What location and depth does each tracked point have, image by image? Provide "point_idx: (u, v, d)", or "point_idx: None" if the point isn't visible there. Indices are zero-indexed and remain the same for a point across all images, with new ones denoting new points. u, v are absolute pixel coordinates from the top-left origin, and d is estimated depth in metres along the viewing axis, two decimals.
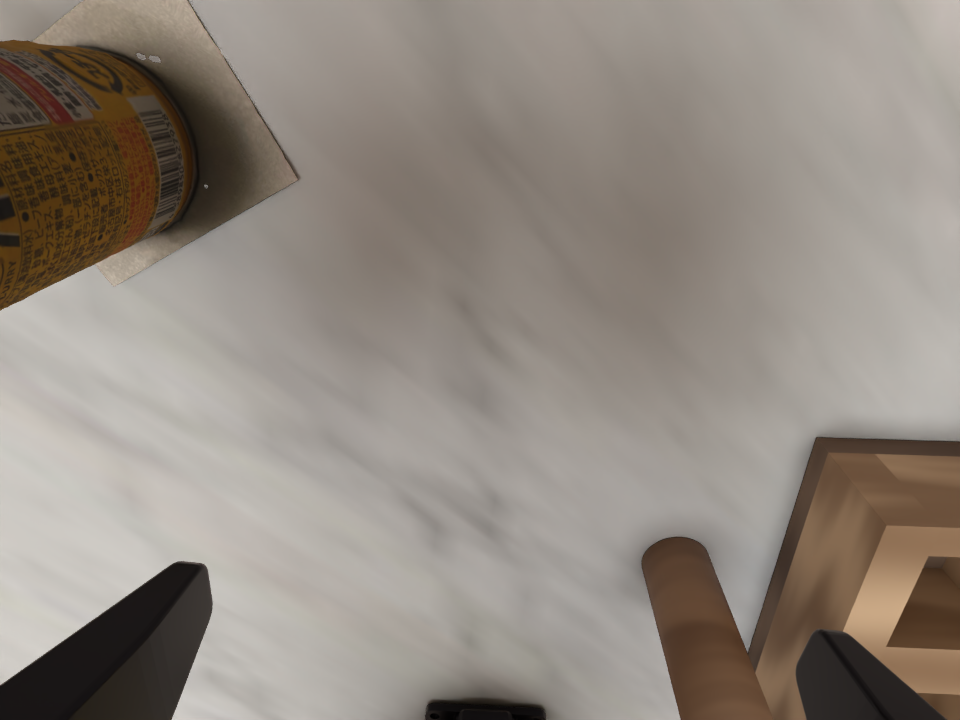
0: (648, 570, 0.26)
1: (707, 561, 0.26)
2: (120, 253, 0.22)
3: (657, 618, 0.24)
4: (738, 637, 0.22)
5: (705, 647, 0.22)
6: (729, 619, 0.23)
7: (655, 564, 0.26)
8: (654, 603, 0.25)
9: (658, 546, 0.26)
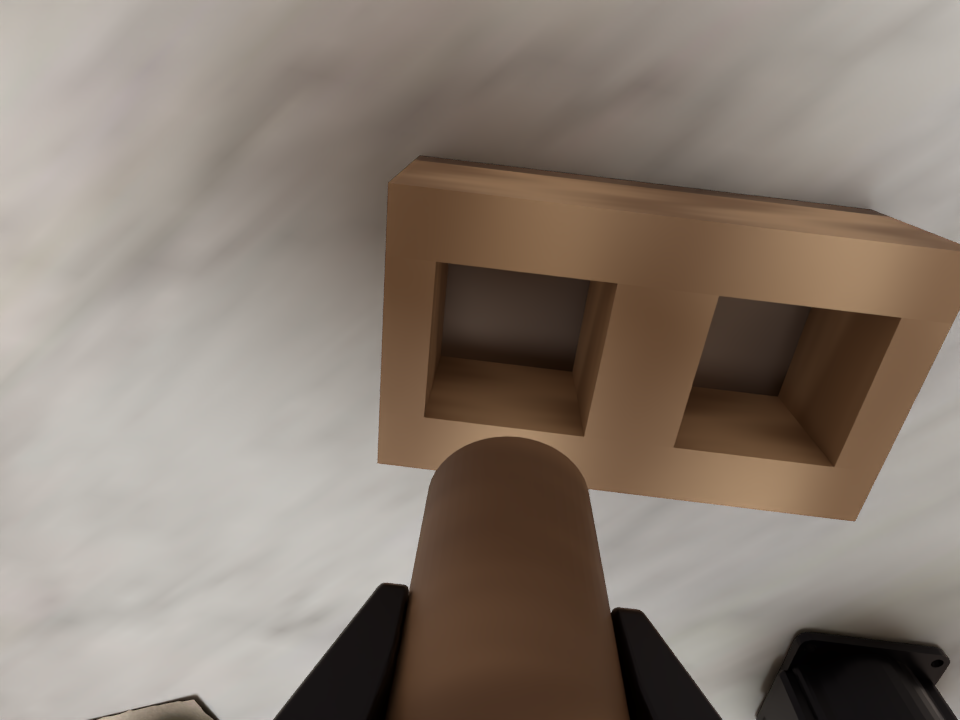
0: None
1: (444, 492, 0.10)
2: None
3: None
4: (418, 710, 0.06)
5: None
6: (417, 657, 0.07)
7: None
8: None
9: None
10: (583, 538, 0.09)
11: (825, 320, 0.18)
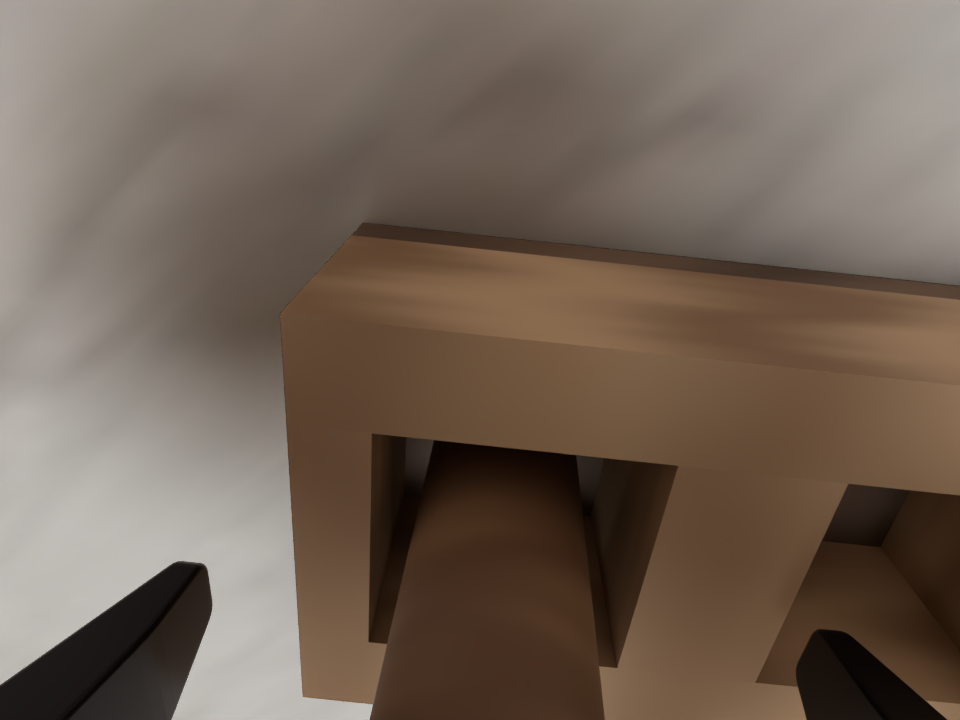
0: None
1: None
2: None
3: None
4: (429, 559, 0.09)
5: None
6: (428, 528, 0.09)
7: None
8: None
9: None
10: None
11: None
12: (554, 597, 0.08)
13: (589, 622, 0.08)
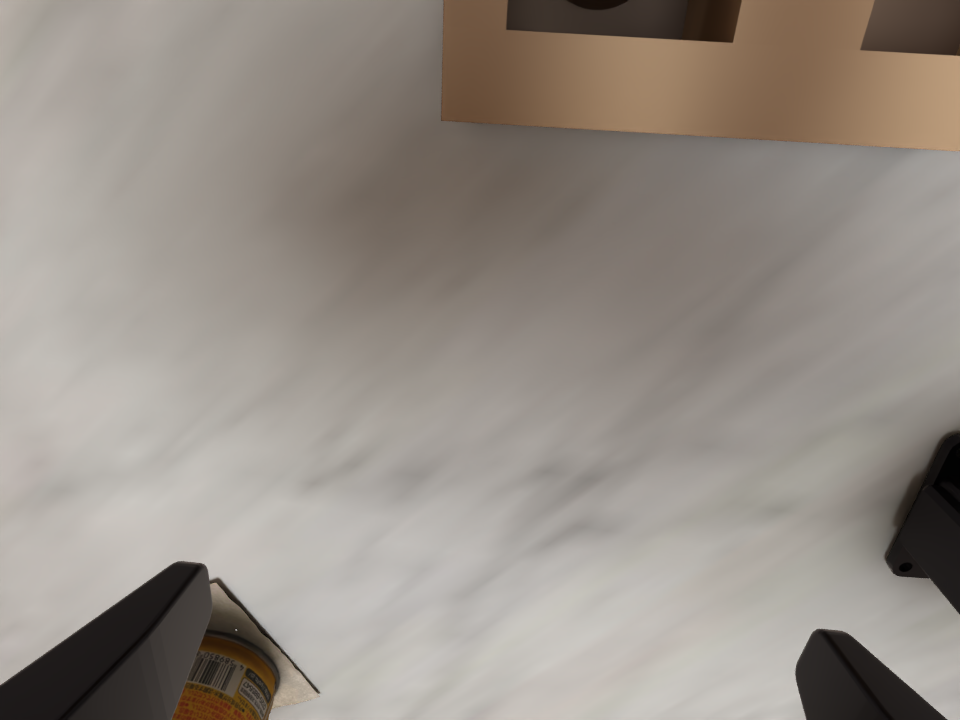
0: (581, 1, 0.14)
1: None
2: (293, 686, 0.29)
3: None
4: None
5: None
6: None
7: None
8: None
9: None
10: None
11: None
12: None
13: None
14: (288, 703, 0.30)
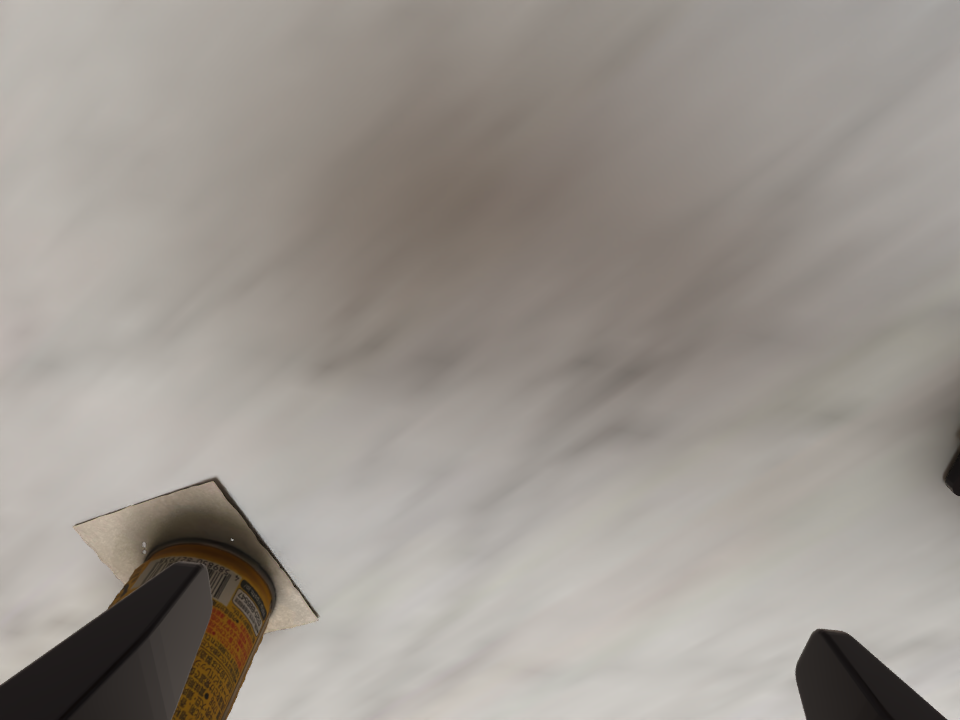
0: None
1: None
2: (290, 607, 0.27)
3: None
4: None
5: None
6: None
7: None
8: None
9: None
10: None
11: None
12: None
13: None
14: (284, 627, 0.27)
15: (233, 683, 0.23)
